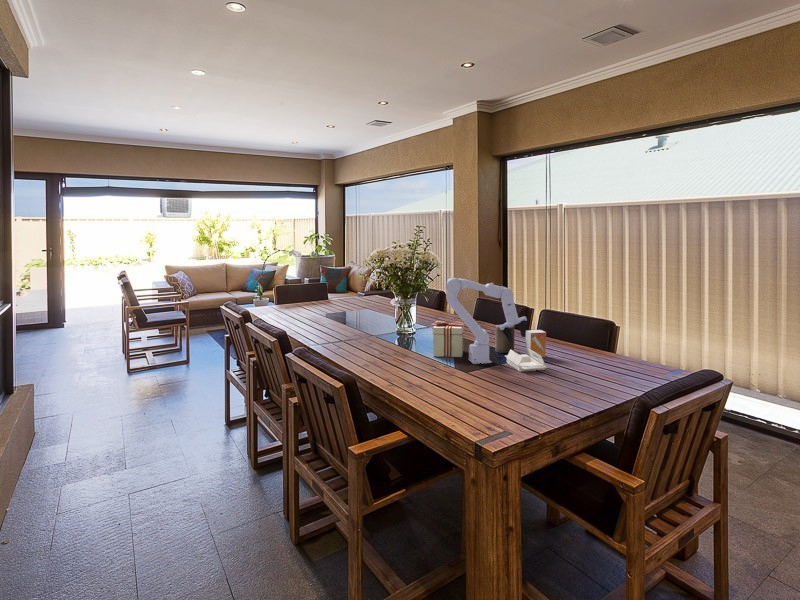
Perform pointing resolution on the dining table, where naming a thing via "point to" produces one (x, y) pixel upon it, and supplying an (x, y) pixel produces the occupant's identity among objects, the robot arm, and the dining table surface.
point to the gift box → (448, 339)
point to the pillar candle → (503, 341)
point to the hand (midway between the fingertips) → (517, 339)
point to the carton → (527, 364)
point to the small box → (535, 342)
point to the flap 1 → (514, 357)
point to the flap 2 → (536, 356)
